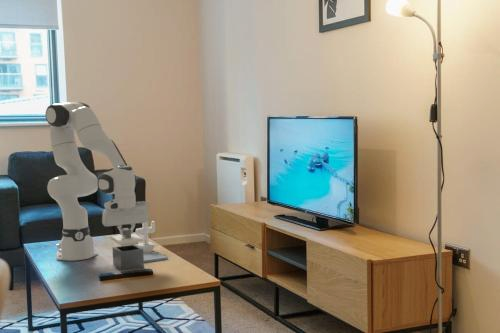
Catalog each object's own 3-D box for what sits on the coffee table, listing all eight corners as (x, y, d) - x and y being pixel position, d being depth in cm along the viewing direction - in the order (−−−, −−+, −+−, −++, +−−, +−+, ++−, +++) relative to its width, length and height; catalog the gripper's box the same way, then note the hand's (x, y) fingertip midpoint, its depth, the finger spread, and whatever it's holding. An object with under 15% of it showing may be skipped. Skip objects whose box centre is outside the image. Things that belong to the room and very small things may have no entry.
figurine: (134, 251, 319) (133, 220, 317) (153, 249, 323) (152, 218, 321) (138, 254, 312) (137, 222, 311) (157, 251, 316) (156, 220, 315)
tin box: (113, 265, 293) (112, 247, 292) (135, 261, 298) (134, 244, 297) (121, 270, 282) (120, 252, 282) (144, 267, 287) (143, 249, 286)
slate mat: (132, 256, 307) (132, 254, 307) (157, 253, 313) (157, 251, 313) (142, 263, 295) (142, 260, 295) (167, 259, 300) (167, 257, 300)
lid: (110, 241, 292) (110, 228, 292) (134, 239, 297) (133, 225, 296) (119, 247, 281) (118, 233, 280) (143, 244, 286) (142, 230, 285)
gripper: (146, 199, 295) (147, 230, 296) (100, 203, 285) (101, 235, 287) (150, 201, 289) (151, 233, 291) (104, 206, 280) (105, 238, 281)
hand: (126, 234), depth 289 cm, fingers closed on lid, 2 cm apart
